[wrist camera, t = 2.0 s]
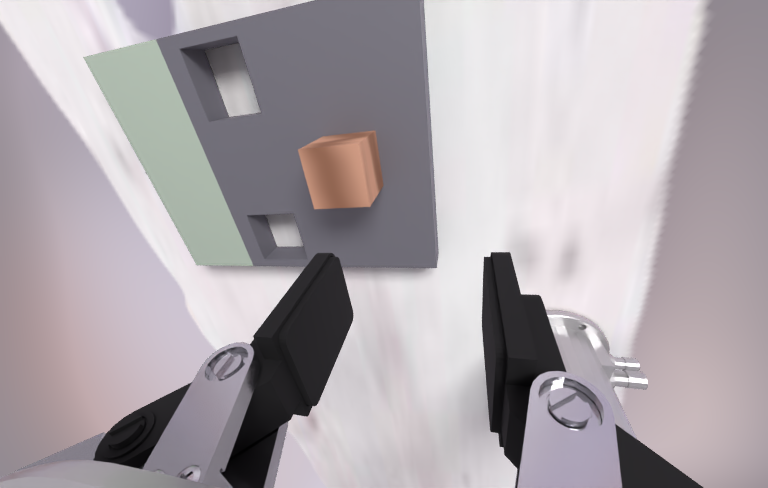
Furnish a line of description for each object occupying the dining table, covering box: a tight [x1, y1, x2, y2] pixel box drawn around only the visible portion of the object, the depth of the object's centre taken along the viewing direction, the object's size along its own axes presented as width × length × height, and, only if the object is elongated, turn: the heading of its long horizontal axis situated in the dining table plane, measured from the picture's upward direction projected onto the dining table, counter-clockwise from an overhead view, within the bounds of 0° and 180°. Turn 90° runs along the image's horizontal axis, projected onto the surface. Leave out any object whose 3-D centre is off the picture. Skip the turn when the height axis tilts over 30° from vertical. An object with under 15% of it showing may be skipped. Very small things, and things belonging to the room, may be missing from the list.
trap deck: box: [83, 0, 438, 268], centre depth 31 cm, size 32×24×3 cm
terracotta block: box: [298, 131, 384, 209], centre depth 25 cm, size 5×5×5 cm
